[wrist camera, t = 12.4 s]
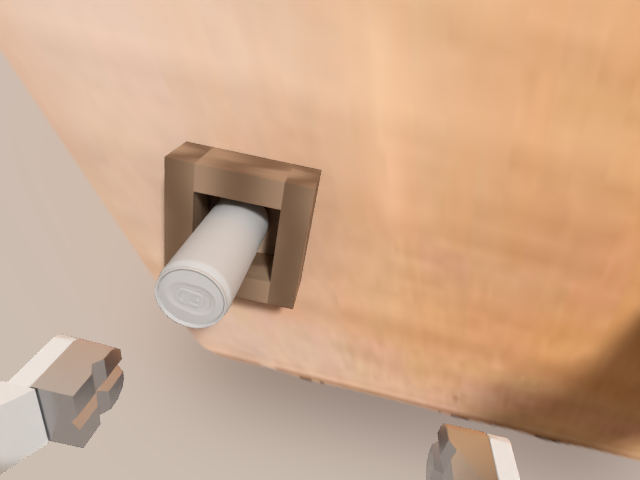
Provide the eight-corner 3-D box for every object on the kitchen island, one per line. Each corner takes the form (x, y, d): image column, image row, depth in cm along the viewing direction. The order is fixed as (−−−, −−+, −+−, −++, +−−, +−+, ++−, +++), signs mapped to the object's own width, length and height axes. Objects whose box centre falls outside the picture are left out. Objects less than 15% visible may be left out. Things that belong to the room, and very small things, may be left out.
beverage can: (262, 248, 38) (219, 339, 28) (210, 230, 38) (147, 315, 27) (277, 201, 36) (236, 282, 25) (221, 182, 36) (157, 255, 25)
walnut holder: (321, 170, 34) (314, 188, 31) (300, 282, 39) (292, 309, 36) (186, 141, 34) (164, 156, 31) (183, 257, 40) (164, 281, 36)
